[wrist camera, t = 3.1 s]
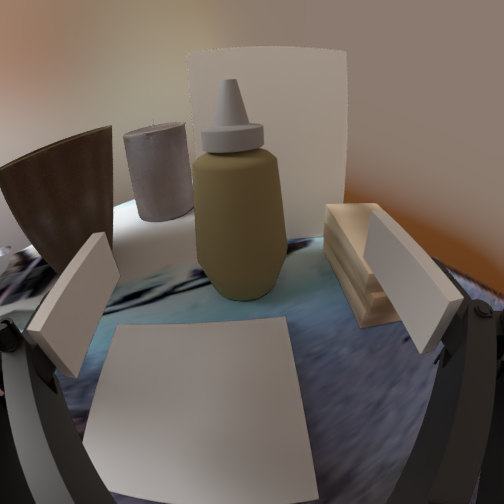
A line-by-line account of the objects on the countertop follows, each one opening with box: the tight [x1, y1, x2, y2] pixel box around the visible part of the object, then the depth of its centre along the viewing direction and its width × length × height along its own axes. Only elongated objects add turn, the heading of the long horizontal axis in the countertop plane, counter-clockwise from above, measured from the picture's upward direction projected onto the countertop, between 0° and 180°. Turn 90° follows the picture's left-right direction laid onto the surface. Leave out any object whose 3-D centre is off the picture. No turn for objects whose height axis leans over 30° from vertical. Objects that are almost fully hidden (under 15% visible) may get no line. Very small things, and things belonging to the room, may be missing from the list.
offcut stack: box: [323, 203, 401, 329], centre depth 24 cm, size 7×13×5 cm, turn 3°
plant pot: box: [0, 125, 113, 276], centre depth 26 cm, size 15×15×16 cm
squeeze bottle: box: [193, 79, 287, 301], centre depth 21 cm, size 8×8×18 cm
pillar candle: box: [123, 120, 194, 222], centre depth 39 cm, size 10×10×15 cm
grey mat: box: [83, 317, 319, 504], centre depth 15 cm, size 14×14×1 cm
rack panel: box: [187, 46, 348, 239], centre depth 27 cm, size 16×2×22 cm, turn 93°
